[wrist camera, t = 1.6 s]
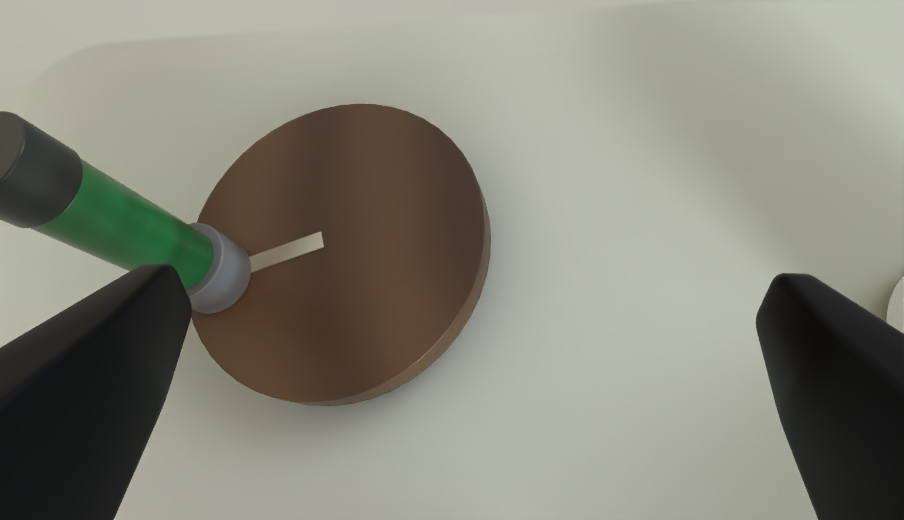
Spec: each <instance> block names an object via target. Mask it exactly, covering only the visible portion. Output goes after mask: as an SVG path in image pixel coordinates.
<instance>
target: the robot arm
mask: <svg viewBox="0 0 904 520" xmlns="http://www.w3.org/2000/svg"><path fill="white" fill-rule="evenodd" d="M191 315H192V305H191V301H190V299H189V297H188V294H187V292H186V290H185V288H184V286H183V283H182V281H181V279H180V277H179V275H178V273H177V271H176V269H175V268H174V267H173V266H172V265H169V264H143V265H141V266H139V267H137V268H135V269H134V270H132V271H130V272H128V273H127V274H125V275H123V276H122V277H120V278H118V279H117V280H115V281H113V282H111V283H110V284H108V285H106V286H105V287H103V288H101V289H100V290H98V291H96V292H94V293H93V294H91V295H89V296H88V297H86V298H84V299H82V300H81V301H79V302H77V303H76V304H74V305H72V306H71V307H69V308H67V309H65V310H64V311H62V312H60V313H59V314H57V315H55V316H54V317H52V318H50V319H48V320H47V321H45V322H43V323H42V324H40V325H38V326H36V327H35V328H33V329H31V330H30V331H28V332H26V333H25V334H23V335H21V336H19V337H18V338H16V339H14V340H13V341H11V342H9V343H8V344H6V345H4V346H2V347H1V348H0V520H114V518H115V515H116V513H117V511H118V509H119V506H120V504H121V502H122V499H123V497H124V495H125V493H126V490H127V488H128V486H129V483H130V481H131V479H132V476H133V474H134V472H135V470H136V467H137V465H138V463H139V460H140V458H141V456H142V454H143V451H144V449H145V447H146V444H147V442H148V440H149V438H150V435H151V433H152V431H153V428H154V426H155V424H156V421H157V419H158V417H159V414H160V412H161V409H162V407H163V404H164V402H165V399H166V396H167V393H168V390H169V388H170V384H171V381H172V378H173V375H174V371H175V368H176V365H177V362H178V358H179V355H180V352H181V349H182V345H183V342H184V339H185V336H186V333H187V329H188V326H189V323H190V320H191ZM756 329H757V333H758V337H759V341H760V345H761V349H762V353H763V357H764V360H765V364H766V368H767V372H768V376H769V380H770V384H771V388H772V392H773V395H774V399H775V403H776V407H777V410H778V414H779V417H780V421H781V424H782V426H783V429H784V432H785V435H786V438H787V440H788V443H789V445H790V448H791V450H792V453H793V456H794V458H795V461H796V463H797V466H798V469H799V471H800V474H801V476H802V479H803V481H804V484H805V487H806V489H807V492H808V494H809V497H810V500H811V502H812V505H813V507H814V510H815V512H816V515H817V518H818V520H904V333H902V332H900V331H899V330H897V329H896V328H894V327H893V326H891V325H889V324H888V323H886V322H885V321H883V320H881V319H880V318H878V317H877V316H875V315H874V314H872V313H870V312H869V311H867V310H866V309H864V308H862V307H861V306H859V305H858V304H856V303H855V302H853V301H851V300H850V299H848V298H847V297H845V296H843V295H842V294H840V293H839V292H837V291H836V290H834V289H832V288H831V287H829V286H828V285H826V284H825V283H823V282H821V281H820V280H818V279H817V278H815V277H813V276H811V275H809V274H796V273H782V274H779V275H777V276H776V277H775V278H774V279H773V280H772V282H771V284H770V286H769V289H768V291H767V293H766V295H765V297H764V299H763V302H762V304H761V306H760V308H759V310H758V313H757V317H756Z"/></svg>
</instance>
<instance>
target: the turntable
mask: <svg viewBox="0 0 904 520" xmlns="http://www.w3.org/2000/svg"><path fill="white" fill-rule="evenodd" d="M0 220H3V221H5V222H7V223H10V224H12V225H14V226H17V227H20V228H31V229H33V230H35V231H38V232H40V233H42V234H45V235H47V236H49V237H52V238H54V239H56V240H58V241H61V242H63V243H65V244H68V245H70V246H72V247H75V248H77V249H79V250H82V251H84V252H86V253H89V254H91V255H93V256H95V257H98V258H100V259H102V260H105V261H107V262H109V263H112V264H114V265H116V266H119V267H121V268H123V269H125V270H128V271H132V270H134V269H135V268H137V267H139V266H141V265H143V264H169V265H172V266H173V267H174V268H175V269H176V271H177V273H178V275H179V277H180V279H181V281H182V283H183V286H184V288H185V290H186V292H187V294H188V297H189V299H190V301H191V305H192V315H191V317H192V320H193V324H194V326H195V328H196V331H197V333H198V335H199V337H200V340H201V341H202V343H203V344H204V346H205V348H206V349H207V351H208V352H209V354H210V355H211V357H212V358H213V359H214V360H215V361H216V362H217V363H218V364H219V366H220V367H221V368H222V369H223V370H224V371H226V372H227V373H228V374H229V375H230V376H232V377H233V378H234V379H235V380H237V381H238V382H240V383H242V384H243V385H245V386H247V387H249V388H250V389H252V390H254V391H256V392H259V393H262V394H265V395H267V396H270V397H273V398H277V399H282V400H286V401H290V402H295V403H300V404H305V405H316V406H335V405H345V404H352V403H356V402H360V401H364V400H368V399H372V398H374V397H377V396H379V395H382V394H385V393H387V392H390V391H392V390H394V389H395V388H397V387H399V386H401V385H403V384H404V383H406V382H408V381H410V380H411V379H413V378H414V377H415V376H417V375H418V374H420V373H421V372H422V371H424V370H425V369H426V368H428V367H429V366H430V365H431V364H432V363H433V362H434V361H435V360H436V359H437V358H439V357H440V356H441V355H442V354H443V353H444V352H445V351H446V350H447V348H448V347H449V346H450V345H451V343H452V342H453V341H454V340H455V339H456V337H457V336H458V335H459V334H460V332H461V330H462V329H463V327H464V326H465V324H466V323H467V321H468V319H469V318H470V316H471V314H472V312H473V310H474V308H475V306H476V304H477V302H478V300H479V297H480V295H481V292H482V289H483V285H484V282H485V279H486V276H487V270H488V265H489V259H490V246H491V233H490V223H489V216H488V212H487V208H486V204H485V200H484V197H483V194H482V192H481V189H480V187H479V184H478V182H477V179H476V177H475V174H474V172H473V170H472V168H471V166H470V164H469V163H468V161H467V159H466V158H465V156H464V154H463V153H462V152H461V150H460V149H459V148H458V147H457V146H456V145H455V143H454V142H453V141H452V140H451V139H450V138H449V137H448V136H447V135H445V134H444V133H443V132H442V131H441V130H440V129H439V128H437V127H436V126H434V125H432V124H431V123H429V122H428V121H426V120H425V119H423V118H420V117H418V116H416V115H414V114H412V113H409V112H407V111H403V110H400V109H397V108H393V107H388V106H382V105H375V104H350V105H339V106H334V107H330V108H325V109H321V110H317V111H314V112H311V113H308V114H305V115H303V116H300V117H298V118H296V119H294V120H291V121H289V122H287V123H285V124H284V125H282V126H280V127H278V128H277V129H275V130H273V131H271V132H270V133H269V134H267V135H266V136H264V137H263V138H261V139H260V140H259V141H257V142H256V143H255V144H254V145H252V146H251V147H250V148H249V149H248V150H247V151H246V152H244V153H243V154H242V155H241V156H240V157H239V158H238V159H237V160H236V161H235V163H234V164H233V165H232V166H231V167H230V168H229V169H228V170H227V172H226V173H225V174H224V175H223V177H222V178H221V179H220V181H219V182H218V183H217V185H216V186H215V188H214V190H213V191H212V193H211V194H210V196H209V198H208V199H207V201H206V203H205V205H204V207H203V209H202V211H201V213H200V215H199V218H198V221H197V223H191V224H186V223H185V222H183V221H182V220H180V219H178V218H177V217H175V216H173V215H172V214H170V213H169V212H167V211H165V210H164V209H162V208H160V207H159V206H157V205H156V204H154V203H152V202H151V201H149V200H147V199H146V198H144V197H142V196H141V195H139V194H138V193H136V192H134V191H133V190H131V189H129V188H128V187H126V186H125V185H123V184H121V183H120V182H118V181H116V180H115V179H113V178H112V177H110V176H108V175H107V174H105V173H103V172H102V171H100V170H98V169H97V168H95V167H94V166H92V165H90V164H89V163H87V162H85V161H84V160H82V159H81V158H80V157H79V156H78V154H77V153H76V152H75V151H74V150H73V149H71V148H69V147H68V146H66V145H65V144H63V143H61V142H60V141H58V140H57V139H55V138H53V137H52V136H50V135H49V134H47V133H45V132H44V131H42V130H40V129H39V128H37V127H36V126H34V125H32V124H31V123H29V122H28V121H26V120H24V119H23V118H21V117H20V116H18V115H16V114H14V113H10V112H3V111H0Z"/></svg>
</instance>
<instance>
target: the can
mask: <svg viewBox="0 0 904 520" xmlns="http://www.w3.org/2000/svg"><path fill="white" fill-rule="evenodd" d="M887 323H888V324H889V325H891V326H893V327H894V328H896V329H897V330H899V331H900V332H902V333H904V276H903V277H902V278H901V279H900V281H899V282H898V284H897V285H896V287H895V289H894V291H893V293H892V295H891V298H890V301H889V305H888V310H887Z"/></svg>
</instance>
